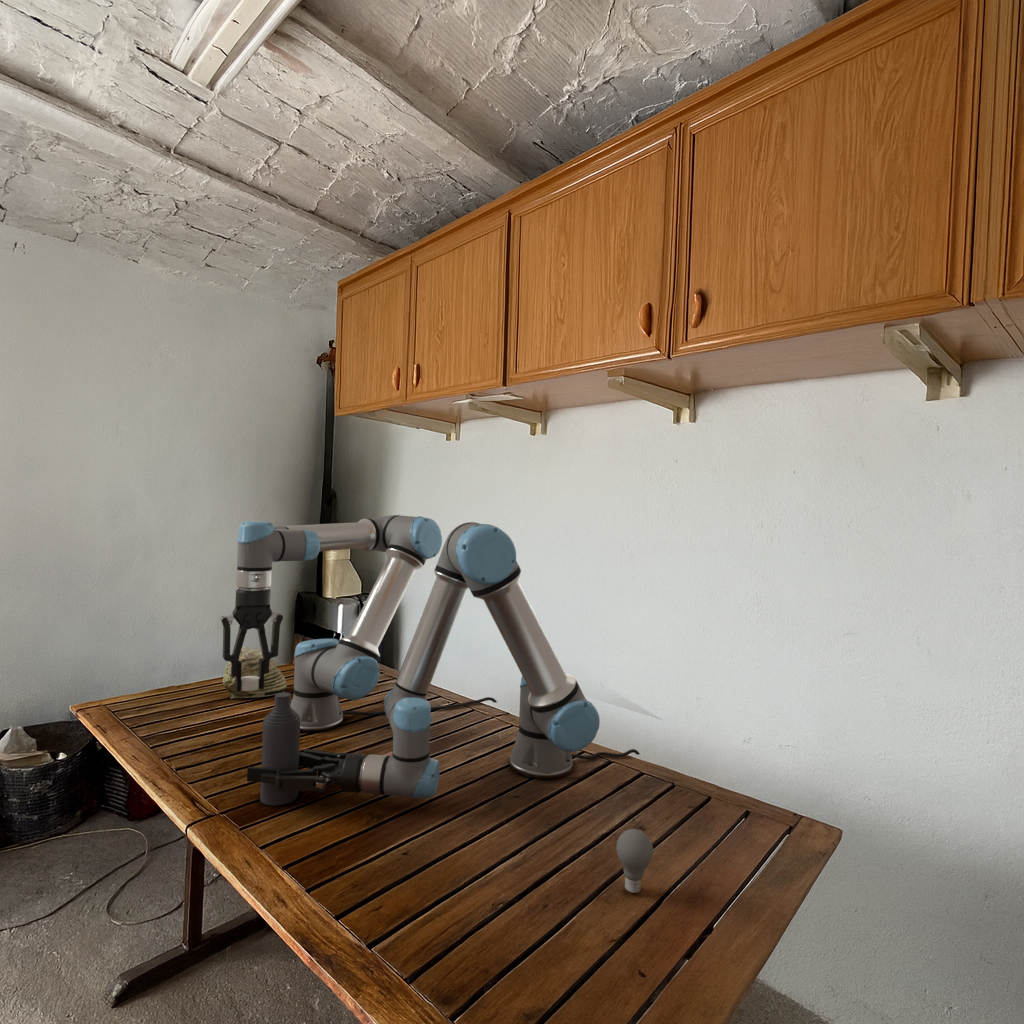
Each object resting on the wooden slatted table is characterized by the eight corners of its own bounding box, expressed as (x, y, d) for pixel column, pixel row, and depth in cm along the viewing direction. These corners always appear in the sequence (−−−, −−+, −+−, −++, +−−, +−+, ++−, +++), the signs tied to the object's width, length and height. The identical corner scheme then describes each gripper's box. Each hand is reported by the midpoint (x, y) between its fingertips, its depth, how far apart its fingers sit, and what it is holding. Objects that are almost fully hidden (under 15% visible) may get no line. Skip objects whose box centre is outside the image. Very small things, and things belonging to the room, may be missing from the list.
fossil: (218, 695, 195) (220, 647, 195) (278, 685, 208) (279, 640, 207) (228, 703, 189) (230, 653, 188) (289, 692, 201) (290, 645, 201)
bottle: (278, 808, 128) (282, 702, 128) (252, 799, 131) (256, 696, 131) (305, 794, 134) (309, 693, 134) (279, 786, 138) (283, 687, 137)
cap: (254, 684, 150) (255, 674, 150) (262, 689, 147) (262, 679, 147) (236, 687, 147) (236, 677, 147) (243, 692, 144) (243, 682, 144)
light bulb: (610, 879, 108) (613, 822, 108) (644, 879, 109) (647, 822, 109) (619, 902, 102) (622, 840, 102) (655, 901, 103) (658, 840, 103)
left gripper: (214, 591, 139) (210, 698, 139) (296, 589, 148) (291, 688, 148) (210, 587, 145) (205, 688, 145) (288, 585, 154) (284, 680, 154)
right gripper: (347, 815, 121) (232, 806, 123) (377, 770, 142) (277, 763, 143) (348, 776, 121) (233, 768, 123) (378, 737, 142) (279, 730, 143)
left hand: (249, 688), depth 147 cm, fingers closed on cap, 4 cm apart
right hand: (257, 765), depth 133 cm, fingers closed on bottle, 7 cm apart
